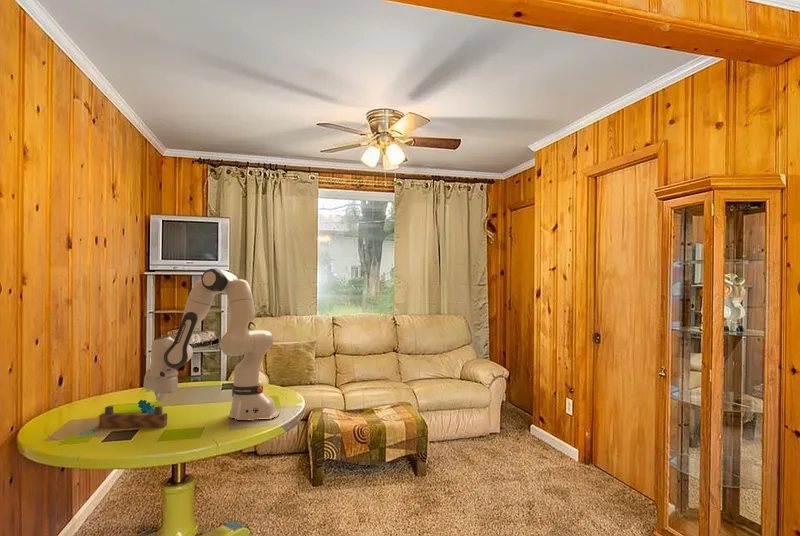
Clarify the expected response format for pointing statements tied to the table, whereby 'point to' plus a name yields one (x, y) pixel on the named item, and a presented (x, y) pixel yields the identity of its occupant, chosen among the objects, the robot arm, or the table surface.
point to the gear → (146, 407)
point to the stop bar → (133, 418)
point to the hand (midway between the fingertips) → (159, 400)
